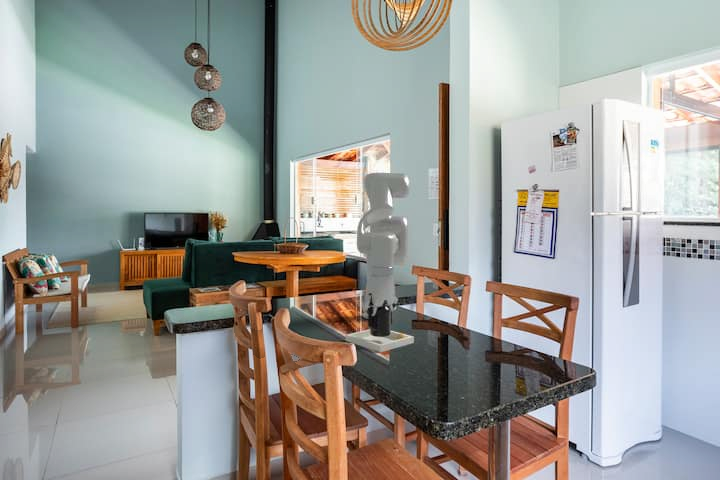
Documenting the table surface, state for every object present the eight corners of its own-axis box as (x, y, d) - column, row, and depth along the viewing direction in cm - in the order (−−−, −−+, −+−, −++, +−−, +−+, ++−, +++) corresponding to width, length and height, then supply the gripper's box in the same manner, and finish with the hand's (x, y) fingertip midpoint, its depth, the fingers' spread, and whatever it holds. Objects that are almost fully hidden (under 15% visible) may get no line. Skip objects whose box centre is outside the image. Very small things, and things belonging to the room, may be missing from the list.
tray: (378, 335, 162) (379, 327, 162) (413, 345, 150) (414, 336, 150) (345, 343, 151) (345, 334, 151) (380, 355, 139) (380, 345, 139)
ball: (400, 340, 152) (400, 331, 152) (407, 342, 150) (407, 333, 150) (394, 342, 150) (394, 333, 150) (401, 344, 148) (401, 335, 148)
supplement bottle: (378, 330, 155) (378, 296, 154) (394, 334, 151) (395, 298, 150) (365, 334, 150) (366, 298, 149) (382, 338, 145) (383, 301, 145)
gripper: (390, 268, 158) (389, 319, 159) (354, 272, 146) (353, 327, 147) (407, 271, 152) (405, 323, 153) (371, 275, 140) (369, 331, 141)
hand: (380, 324), depth 150 cm, fingers closed on supplement bottle, 6 cm apart
